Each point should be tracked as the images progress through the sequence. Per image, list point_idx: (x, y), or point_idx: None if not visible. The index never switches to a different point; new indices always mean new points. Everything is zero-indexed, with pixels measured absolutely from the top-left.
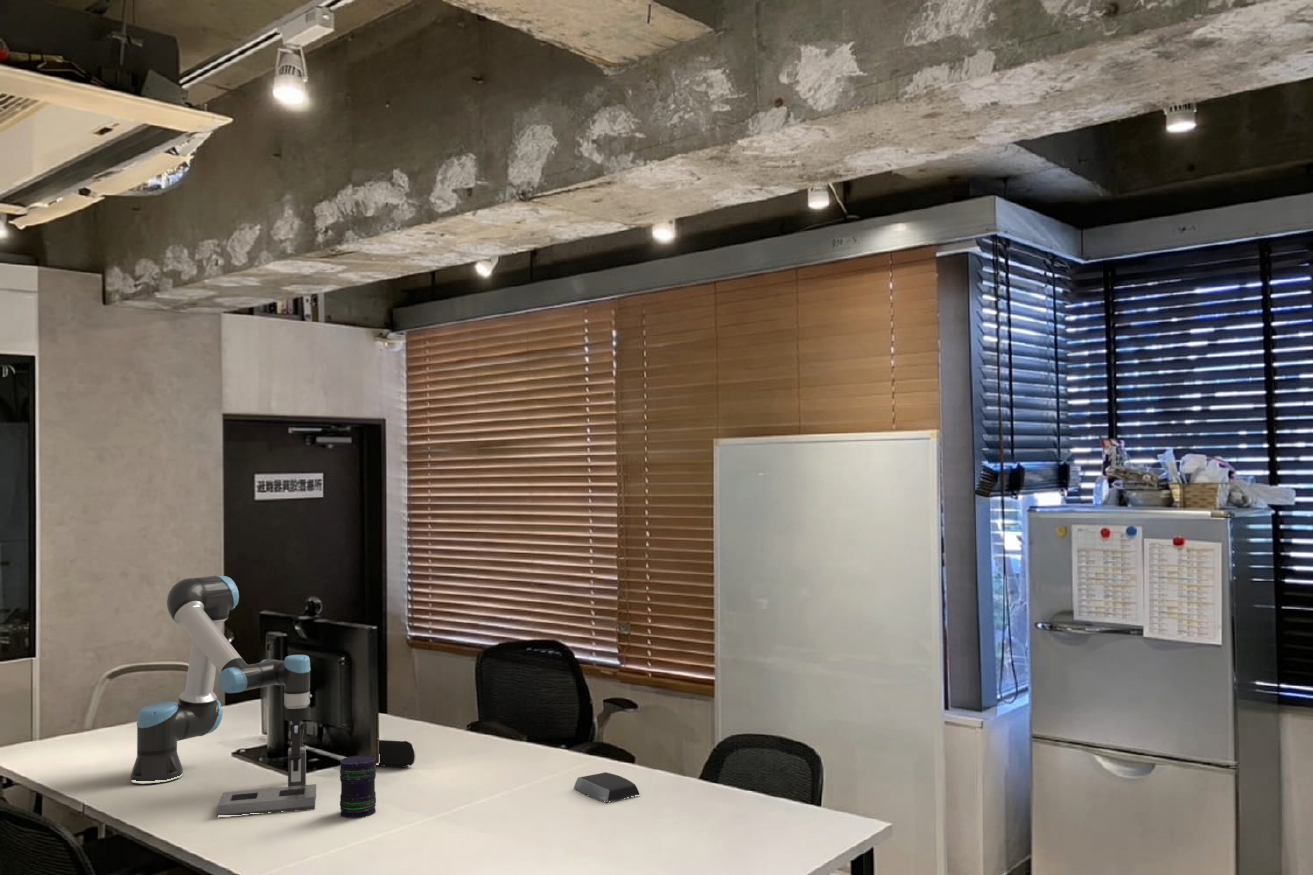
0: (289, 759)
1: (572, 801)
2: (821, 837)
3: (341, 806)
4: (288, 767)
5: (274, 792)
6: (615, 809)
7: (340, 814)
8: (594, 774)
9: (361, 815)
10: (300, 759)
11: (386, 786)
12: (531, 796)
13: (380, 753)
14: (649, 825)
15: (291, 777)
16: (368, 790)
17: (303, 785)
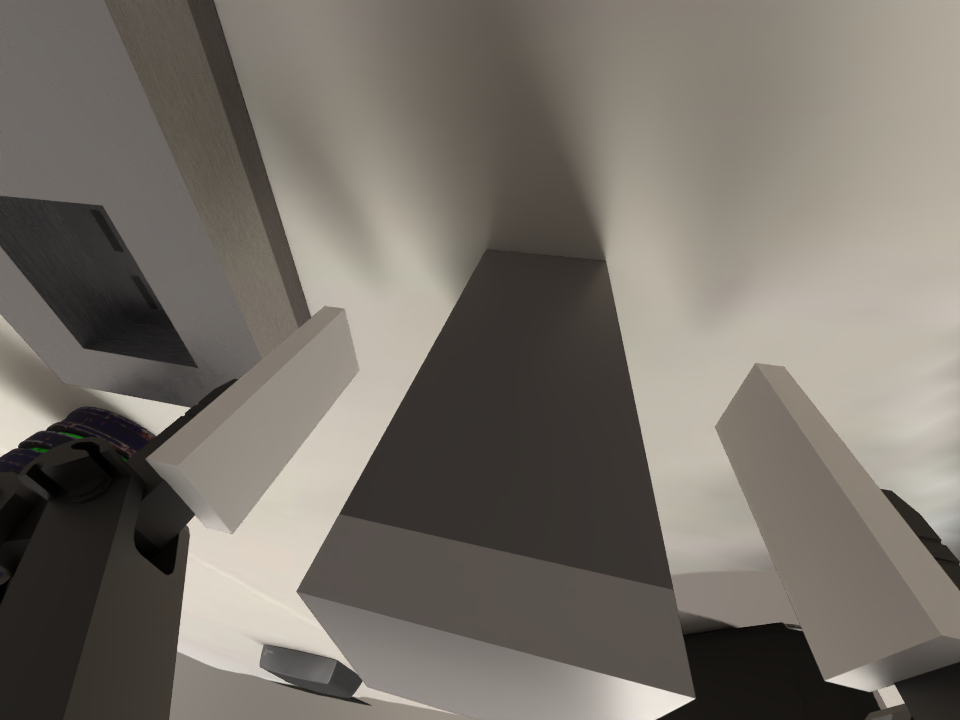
0: (54, 456)
1: (269, 636)
2: (179, 648)
3: (36, 433)
4: (427, 357)
5: (36, 153)
6: (237, 637)
7: (88, 409)
8: (340, 691)
9: None
10: (213, 526)
11: None
12: (295, 631)
13: (739, 698)
14: (182, 625)
15: (300, 329)
16: None
17: None
